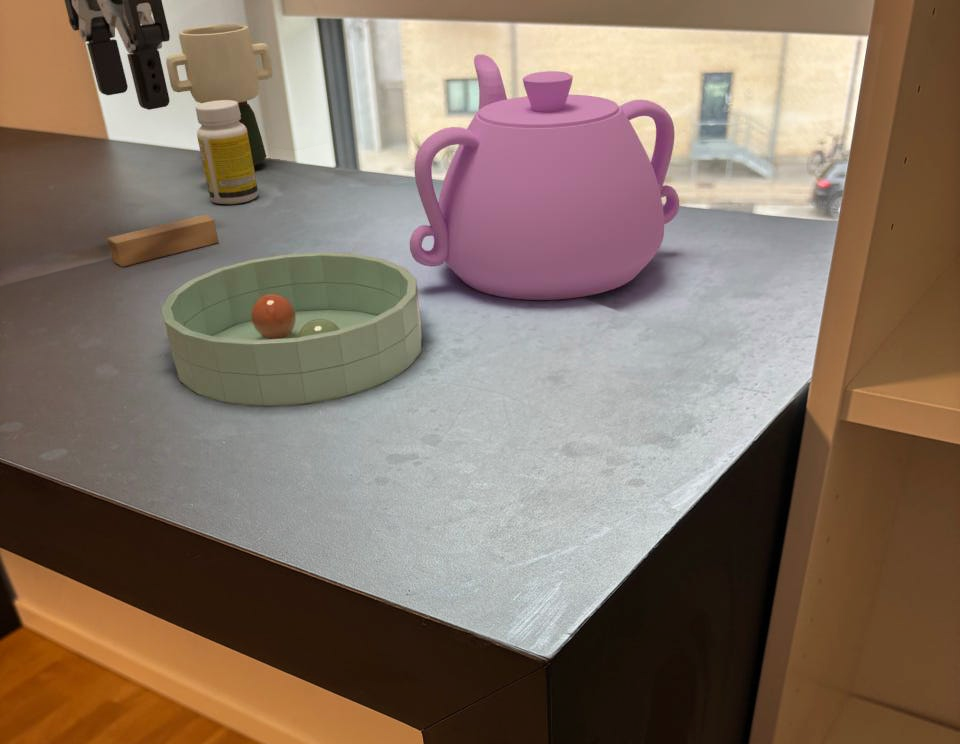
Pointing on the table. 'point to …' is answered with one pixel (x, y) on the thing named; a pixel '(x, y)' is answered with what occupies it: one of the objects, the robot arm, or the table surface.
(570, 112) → the teapot
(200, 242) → the wooden block
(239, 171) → the supplement bottle
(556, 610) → the table surface
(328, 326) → the sage bead
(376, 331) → the bowl
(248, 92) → the character mug
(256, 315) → the terracotta bead
